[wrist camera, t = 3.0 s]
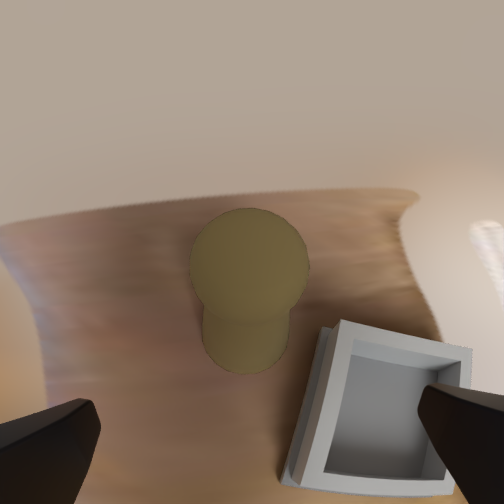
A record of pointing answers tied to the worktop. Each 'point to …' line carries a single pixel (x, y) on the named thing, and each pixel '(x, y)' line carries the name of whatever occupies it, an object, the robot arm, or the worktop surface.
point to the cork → (248, 286)
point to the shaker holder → (372, 414)
